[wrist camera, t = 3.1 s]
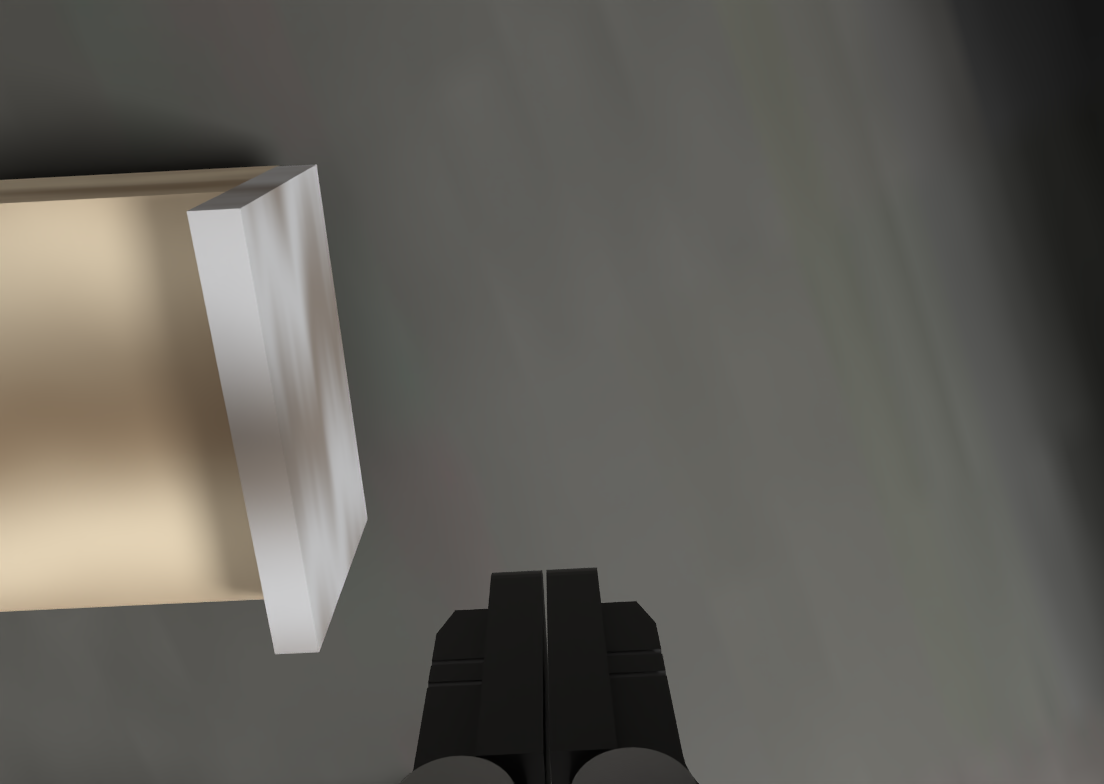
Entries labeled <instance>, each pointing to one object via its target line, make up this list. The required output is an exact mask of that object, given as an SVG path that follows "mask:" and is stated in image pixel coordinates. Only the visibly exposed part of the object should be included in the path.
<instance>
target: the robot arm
mask: <svg viewBox="0 0 1104 784" xmlns="http://www.w3.org/2000/svg"><path fill="white" fill-rule="evenodd" d="M547 628H548V654H547V637H546V620H545V604H544V587H543V573H542V570H541V571H521V572H501V573H492V575H491V583H490V595H489V606H488V609H475V610H455V612H454V613H453V614H452V615H451V617H450V618H449V619H448V620H447V622H446V623H445V624H444V625H443V627H442V628H441V629H440V630H439V632H438V633H437V634H436V640H435V646H434V652H433V658H432V666H431V670H430V675H429V681H428V688H427V693H426V699H425V705H424V711H423V716H422V722H421V728H420V734H419V740H418V746H417V751H416V757H415V763H414V769H413V772H411V773H410V774H409V775H408V776H406V777H405V778H404V779H403V780H402V781H401V783H400V784H551V781H552V784H699V783H698V782H697V781H696V780H695V779H694V777H693V776H692V775H691V773H690V772H689V770H688V768H687V766H686V764H685V761H684V757H683V753H682V749H681V744H680V739H679V734H678V729H677V724H676V719H675V714H674V710H673V705H672V700H671V695H670V690H669V685H668V680H667V676H666V672H665V666H664V661H663V656H662V654H661V646H660V641H659V636H658V632H657V627H656V623H655V622H654V621H653V619H652V618H651V617H650V616H649V615H648V614H647V613H646V612H645V611H644V609H643V608H642V607H641V606H640V605H639V604H638V603H637V602H636V601H633V602H613V603H601V599H600V591H599V582H598V573H597V568H578V569H558V570H547Z"/></svg>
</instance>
